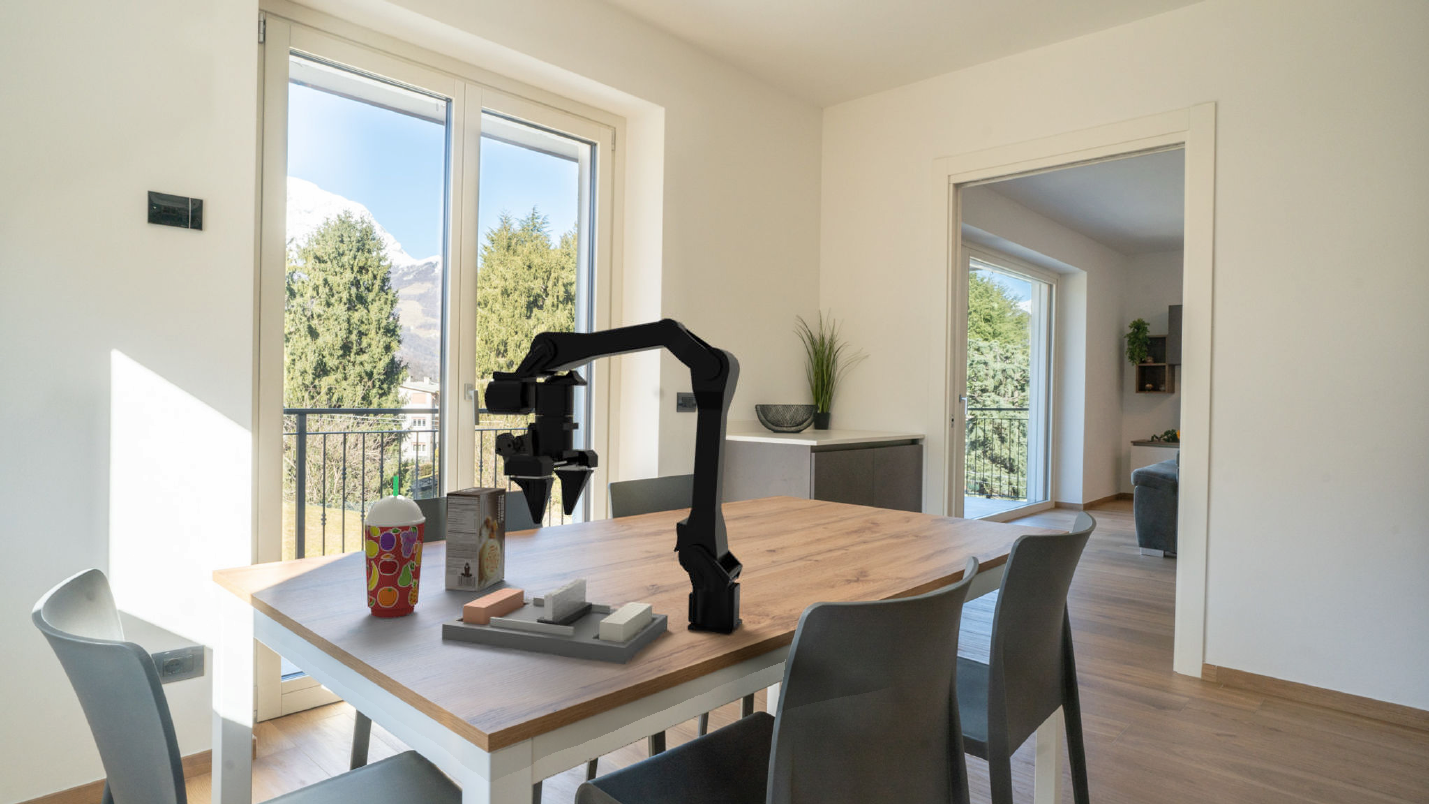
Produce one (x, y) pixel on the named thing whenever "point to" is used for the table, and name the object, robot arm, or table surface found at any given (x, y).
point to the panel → (554, 633)
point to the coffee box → (475, 538)
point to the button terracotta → (493, 606)
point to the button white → (625, 622)
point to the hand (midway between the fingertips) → (553, 519)
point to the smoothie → (393, 555)
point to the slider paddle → (565, 604)
